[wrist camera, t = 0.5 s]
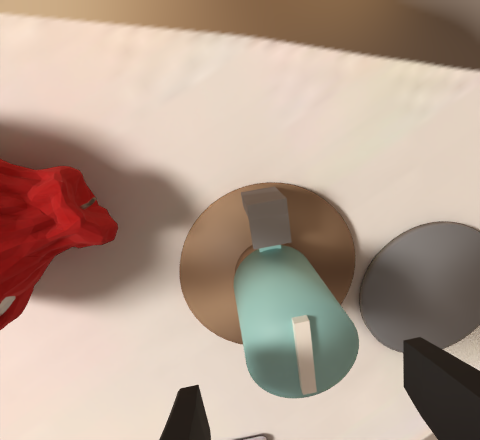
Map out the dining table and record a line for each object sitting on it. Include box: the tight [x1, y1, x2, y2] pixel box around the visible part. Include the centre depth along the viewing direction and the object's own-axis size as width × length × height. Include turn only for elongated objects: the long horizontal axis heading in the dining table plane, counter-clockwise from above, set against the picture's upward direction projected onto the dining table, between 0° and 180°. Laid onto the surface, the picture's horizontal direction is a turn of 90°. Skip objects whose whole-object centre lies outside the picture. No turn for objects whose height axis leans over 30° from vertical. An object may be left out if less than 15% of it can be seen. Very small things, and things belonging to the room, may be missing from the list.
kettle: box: [234, 245, 359, 398], centre depth 16 cm, size 6×5×6 cm
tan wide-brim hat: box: [180, 183, 355, 344], centre depth 19 cm, size 11×11×4 cm
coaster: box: [359, 222, 480, 352], centre depth 23 cm, size 10×10×1 cm
